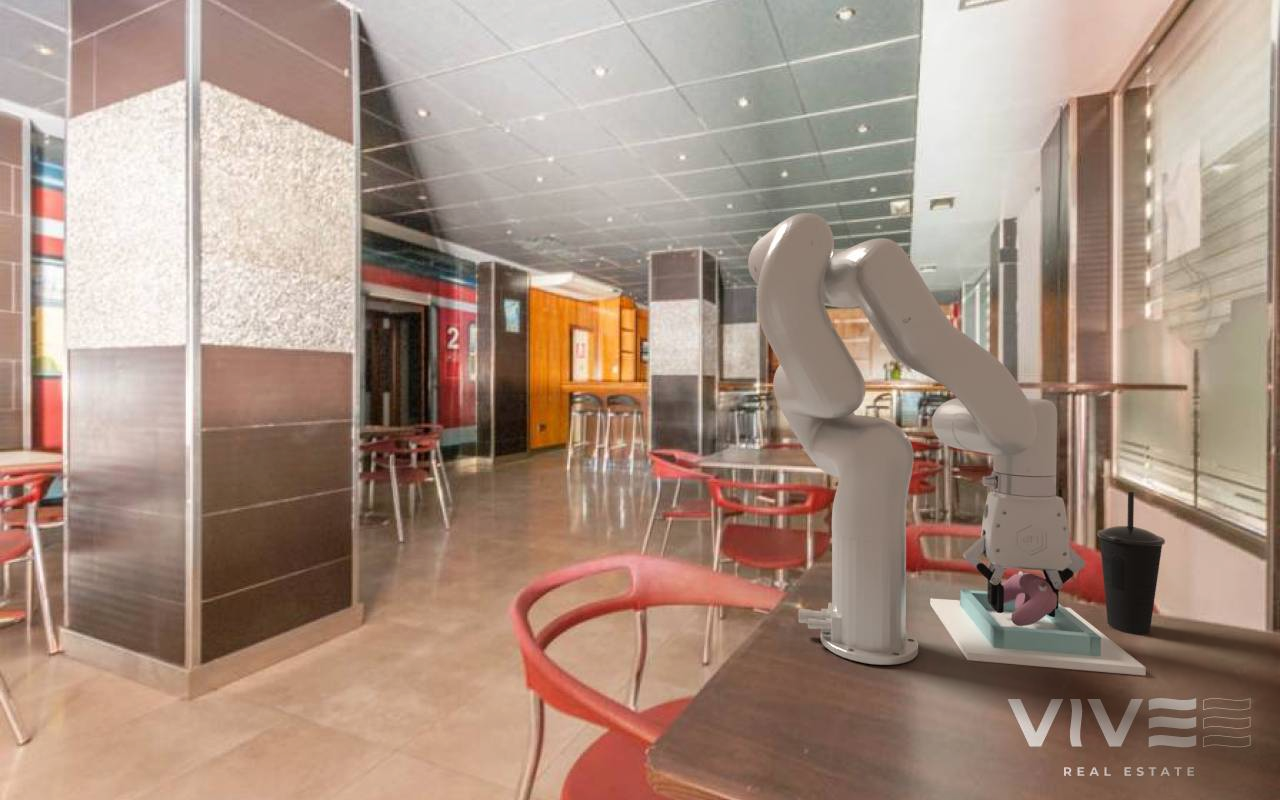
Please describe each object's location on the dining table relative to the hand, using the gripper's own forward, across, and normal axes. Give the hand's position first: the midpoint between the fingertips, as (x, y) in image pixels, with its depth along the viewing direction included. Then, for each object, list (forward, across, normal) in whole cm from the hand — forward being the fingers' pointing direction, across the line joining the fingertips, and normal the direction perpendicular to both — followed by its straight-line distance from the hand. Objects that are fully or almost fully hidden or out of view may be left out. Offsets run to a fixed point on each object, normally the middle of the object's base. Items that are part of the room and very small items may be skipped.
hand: (1022, 610), depth 86 cm
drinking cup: (+4, +16, +6) cm, 18 cm away
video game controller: (+1, 0, 0) cm, 1 cm away
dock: (+4, 0, 0) cm, 4 cm away
